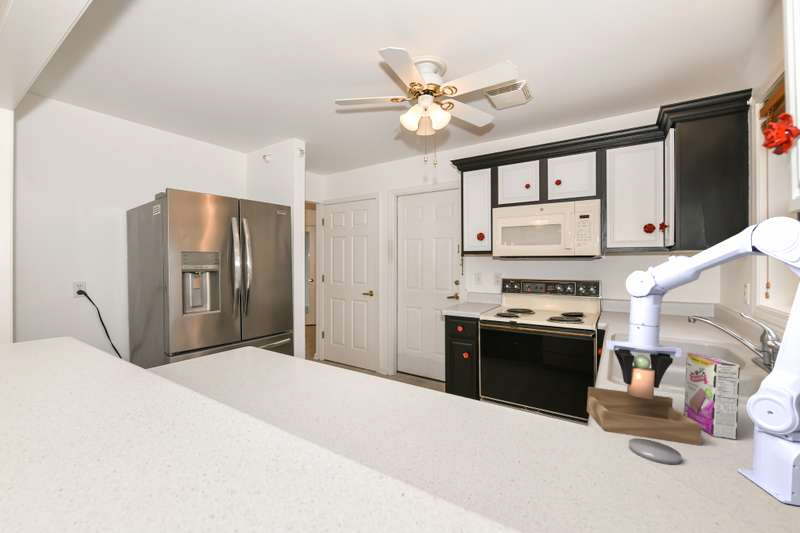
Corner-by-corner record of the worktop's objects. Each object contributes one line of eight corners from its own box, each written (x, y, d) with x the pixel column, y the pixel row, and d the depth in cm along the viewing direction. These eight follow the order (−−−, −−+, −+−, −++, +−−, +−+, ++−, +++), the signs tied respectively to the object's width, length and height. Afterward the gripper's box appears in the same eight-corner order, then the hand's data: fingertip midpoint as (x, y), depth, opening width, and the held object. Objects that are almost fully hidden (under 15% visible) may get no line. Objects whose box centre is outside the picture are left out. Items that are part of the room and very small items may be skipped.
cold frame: (700, 445, 72) (702, 416, 73) (604, 430, 76) (605, 402, 76) (669, 422, 84) (670, 397, 84) (586, 411, 88) (588, 386, 88)
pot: (658, 400, 77) (660, 359, 78) (632, 396, 78) (634, 356, 79) (646, 393, 82) (649, 354, 83) (623, 390, 83) (625, 352, 84)
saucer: (691, 468, 62) (691, 462, 62) (640, 459, 64) (640, 454, 64) (666, 447, 70) (667, 442, 70) (622, 440, 72) (622, 435, 72)
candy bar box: (681, 417, 88) (685, 352, 89) (704, 421, 87) (708, 354, 88) (711, 437, 77) (715, 361, 78) (738, 441, 76) (742, 364, 77)
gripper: (670, 326, 83) (667, 384, 83) (603, 319, 86) (599, 376, 86) (688, 330, 76) (685, 393, 76) (614, 323, 79) (610, 384, 79)
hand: (640, 385), depth 80 cm, fingers closed on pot, 5 cm apart
